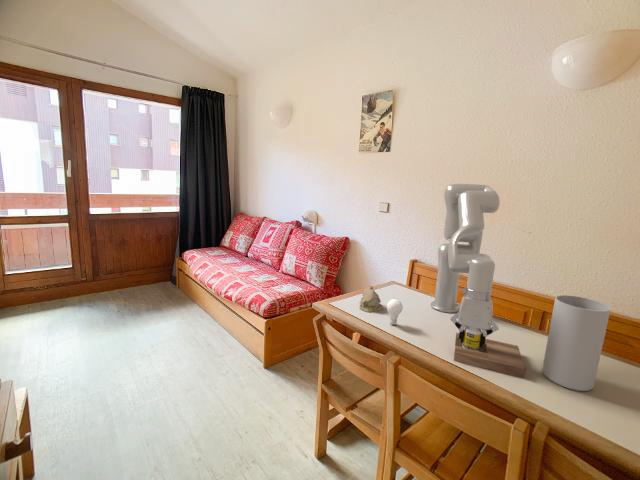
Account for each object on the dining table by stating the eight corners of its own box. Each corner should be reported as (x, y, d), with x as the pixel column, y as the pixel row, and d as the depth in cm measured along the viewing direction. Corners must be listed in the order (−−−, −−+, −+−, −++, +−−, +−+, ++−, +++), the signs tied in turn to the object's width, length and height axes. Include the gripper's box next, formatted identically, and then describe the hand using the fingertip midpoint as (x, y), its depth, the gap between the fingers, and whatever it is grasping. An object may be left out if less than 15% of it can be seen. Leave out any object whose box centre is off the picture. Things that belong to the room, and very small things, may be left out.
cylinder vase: (578, 396, 87) (595, 313, 83) (532, 371, 98) (546, 297, 94) (602, 386, 92) (619, 308, 88) (556, 364, 103) (570, 293, 99)
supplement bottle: (462, 350, 106) (466, 323, 105) (461, 342, 111) (464, 317, 110) (480, 353, 105) (483, 326, 103) (478, 346, 110) (481, 320, 108)
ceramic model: (385, 312, 141) (387, 291, 139) (362, 312, 139) (363, 291, 138) (376, 301, 155) (378, 281, 153) (354, 301, 153) (356, 281, 151)
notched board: (455, 339, 117) (456, 332, 117) (516, 353, 109) (517, 345, 109) (453, 360, 103) (454, 352, 103) (523, 378, 95) (525, 369, 94)
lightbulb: (395, 329, 124) (397, 303, 122) (382, 323, 129) (384, 298, 127) (404, 325, 128) (406, 300, 126) (391, 319, 133) (393, 295, 131)
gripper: (450, 292, 105) (444, 341, 108) (508, 302, 98) (500, 354, 101) (451, 286, 111) (445, 332, 115) (505, 295, 104) (498, 344, 108)
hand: (471, 342), depth 108 cm, fingers closed on supplement bottle, 5 cm apart
